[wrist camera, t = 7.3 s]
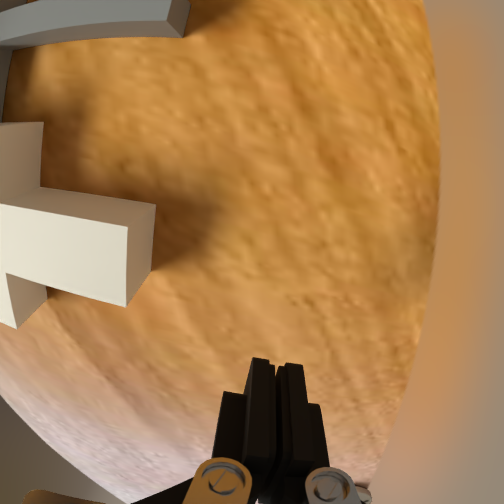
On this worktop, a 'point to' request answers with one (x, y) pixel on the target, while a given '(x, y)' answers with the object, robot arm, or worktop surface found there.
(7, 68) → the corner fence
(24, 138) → the t block
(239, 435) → the robot arm
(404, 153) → the worktop surface
